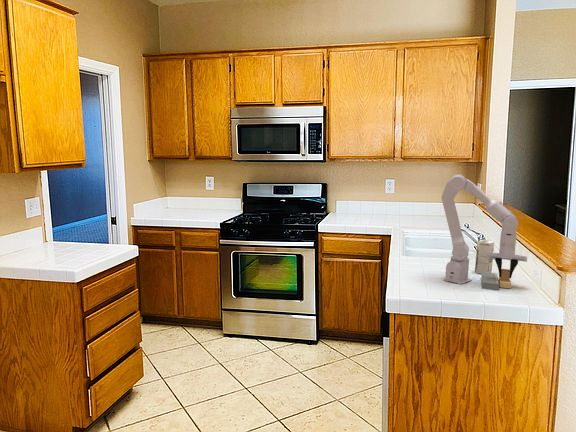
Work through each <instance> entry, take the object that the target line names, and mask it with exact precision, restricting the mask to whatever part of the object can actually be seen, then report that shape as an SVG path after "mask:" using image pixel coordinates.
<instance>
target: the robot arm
mask: <svg viewBox="0 0 576 432" xmlns="http://www.w3.org/2000/svg"><path fill="white" fill-rule="evenodd" d="M462 190H463V192H465V193H470V194H472V196H474V197H475V198H477V200H479V201H480V202H481V203H482V204H483V205H485V211H486V212H487V213H488V214H490V215H491V217H493V218H494V219H495V220H496V221H497V222H500V223H501V232H500V238H499V239H500V240H499V249H498V250H499V252H498V253H497V252H493V253H487V258H493V260H494V261H495V263H496V266H497V270H498V278H499V277H501V269H503V268H502V267H503V266H502V264H503V260H507V261H509V270H510V279H512V276H513V273H514V271H515V269H516V267H517V265H518V264H519V262H526V263H527V262H528V256H527V255H519V254H516V247H517V245H516V244H517V227H518V226H519V221H518V218H517V217H516V215H515V214H513V213H512V210H509V209H508V208H506V206H504V205H503V204H504V203H503V202H502V201H498V200H497V199H495V200H493V199H491V198H490V197H489V196H488V195H487V194H486V193H485V192H484V191H483V190H482V189H481V188H480V187H478V185H476V184H475V183H474V182H472V181H471V180H470V179H468V178H466V177H465V176H464V175H463V174H454V175H453V176H451V178H450V179H448V181H447V182H446V184H445V186H444V189H443V191H442V194H441V202H442V205H443V209H444V213H445V217H446V223H447V227H448V230H449V234H450V238H451V244H452V251H451V254H452V256H450V259H449V260H450V261H449V262H447V263H446V266H445V275H444V276H445V278H443V279H442V280H443V281H445V282H450V283H454V284H458V285H463V284H465V283H468V282H471V281H473V279H472V278H469V270H470V269H469V268H470V266H469V265H470V258H469V257H468V256H469V251H470V248H469V246H468V244H467V243H466V241H465V238H464V235H463V232H462V227H461V223H460V219H459V215H458V211H457V206H456V203H455V197H456V196H457V195H458V193H459V192H461V191H462Z"/></svg>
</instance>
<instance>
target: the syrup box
mask: <svg viewBox="0 0 576 432" xmlns="http://www.w3.org/2000/svg"><path fill="white" fill-rule="evenodd" d="M494 249H495V242H494V241H491V240H485V239H481V240H479V241H477V243H476V254H475V267H474V273H475V274H478V275H482V272H485V273H493V272H492V271H493V261H494V258H487V253H494Z"/></svg>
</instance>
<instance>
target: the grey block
mask: <svg viewBox="0 0 576 432" xmlns="http://www.w3.org/2000/svg"><path fill="white" fill-rule="evenodd" d="M481 289H484V290H490V291H491V290H492V291H499V289H500V287H499V275H498V273H495V272H491V273H485V272H482V274H481Z"/></svg>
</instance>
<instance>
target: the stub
mask: <svg viewBox="0 0 576 432" xmlns="http://www.w3.org/2000/svg"><path fill="white" fill-rule="evenodd" d="M498 281H499V288H503V289H511V288H512V281H511V278H510V268H509V269H507V268H501V277H499V276H498Z"/></svg>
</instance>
